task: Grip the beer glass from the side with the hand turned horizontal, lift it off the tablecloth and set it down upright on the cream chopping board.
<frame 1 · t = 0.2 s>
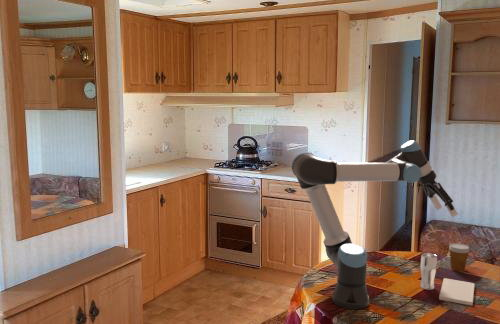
hand: (446, 211, 212), 34 cm above the table, tool tilted 35°, fingers open, 13 cm apart
disposable coffee cup: (457, 269, 236), on the table
beer glass: (427, 287, 214), on the table
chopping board: (457, 292, 209), on the table
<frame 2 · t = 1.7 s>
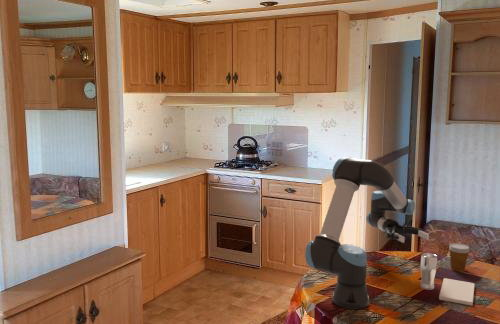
hand: (416, 238, 220), 20 cm above the table, tool horizontal, fingers open, 13 cm apart
nothing on the table moved.
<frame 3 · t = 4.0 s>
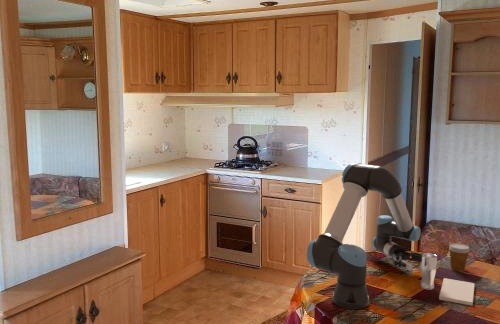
hand: (423, 266, 217), 8 cm above the table, tool horizontal, fingers open, 13 cm apart
nothing on the table moved.
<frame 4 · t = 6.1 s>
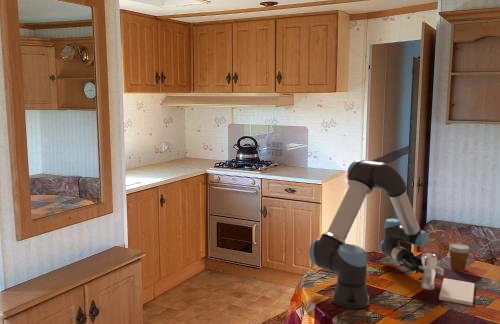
hand: (436, 273, 208), 9 cm above the table, tool horizontal, fingers closed on beer glass, 6 cm apart
beer glass: (427, 287, 214), on the table, touching gripper
everything else where it was.
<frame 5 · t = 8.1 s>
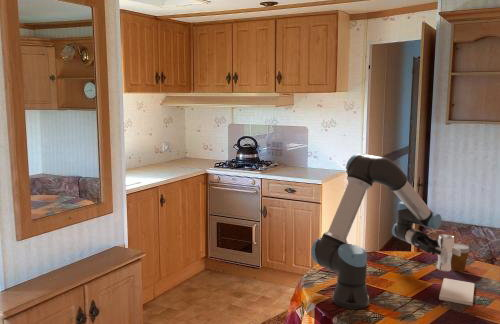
hand: (453, 254, 205), 18 cm above the table, tool horizontal, fingers closed on beer glass, 6 cm apart
beer glass: (443, 269, 211), point 9 cm above the table, touching gripper
everything else where it was.
when the fingers open (11 cm above the table, at t = 10.5 s): beer glass drops 1 cm, resting on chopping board.
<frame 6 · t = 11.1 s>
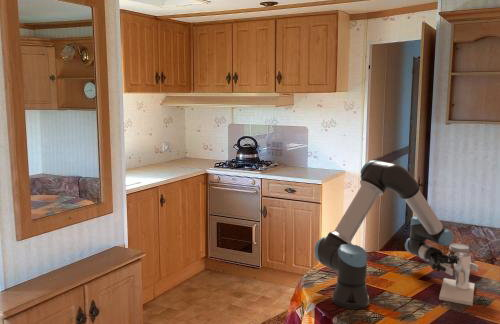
hand: (464, 270, 204), 11 cm above the table, tool horizontal, fingers open, 13 cm apart
beer glass: (462, 287, 210), point 2 cm above the table, touching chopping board, gripper
everything else where it was.
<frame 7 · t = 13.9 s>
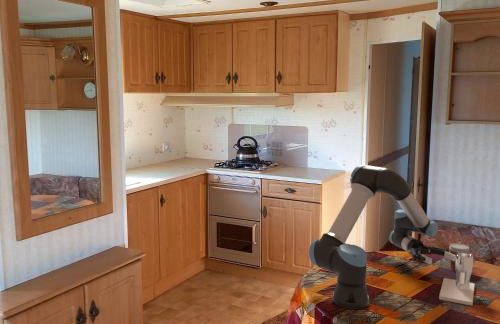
hand: (443, 260, 216), 12 cm above the table, tool horizontal, fingers open, 13 cm apart
beer glass: (462, 287, 211), point 1 cm above the table, touching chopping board
everything else where it was.
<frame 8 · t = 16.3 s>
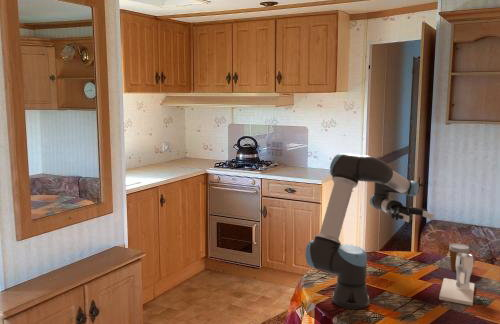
hand: (420, 218, 218), 30 cm above the table, tool horizontal, fingers open, 13 cm apart
nothing on the table moved.
at the end: beer glass inside the target area on the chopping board (3.7 cm from its centre), point 1.3 cm above the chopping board's base; beer glass tilted 0°; the gripper is holding nothing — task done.
